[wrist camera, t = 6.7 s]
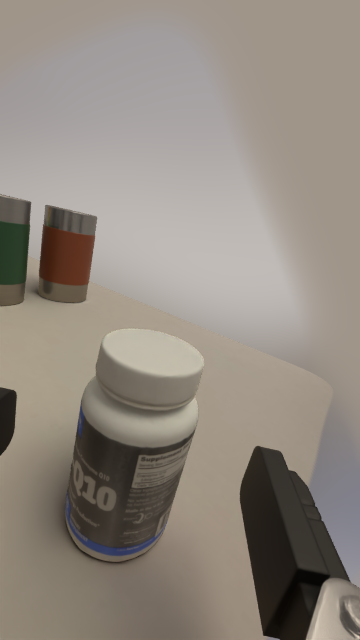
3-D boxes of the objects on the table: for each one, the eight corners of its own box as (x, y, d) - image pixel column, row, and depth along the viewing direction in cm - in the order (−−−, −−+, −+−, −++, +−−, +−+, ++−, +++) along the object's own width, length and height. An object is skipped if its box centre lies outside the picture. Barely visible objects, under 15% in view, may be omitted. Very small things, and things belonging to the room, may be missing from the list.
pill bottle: (49, 490, 13) (70, 324, 11) (136, 457, 17) (167, 322, 14) (88, 595, 10) (130, 392, 8) (187, 529, 13) (239, 369, 11)
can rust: (92, 296, 46) (103, 218, 42) (76, 306, 39) (87, 215, 36) (51, 286, 45) (59, 207, 42) (27, 294, 39) (34, 202, 35)
